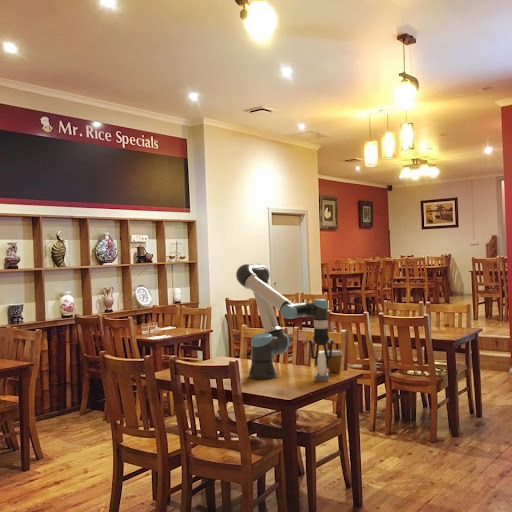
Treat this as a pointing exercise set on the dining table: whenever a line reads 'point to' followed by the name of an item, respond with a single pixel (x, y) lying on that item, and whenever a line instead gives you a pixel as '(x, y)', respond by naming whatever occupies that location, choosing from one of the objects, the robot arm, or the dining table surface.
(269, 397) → the dining table surface
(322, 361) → the door panel
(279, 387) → the dining table surface
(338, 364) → the disposable coffee cup
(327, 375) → the track
